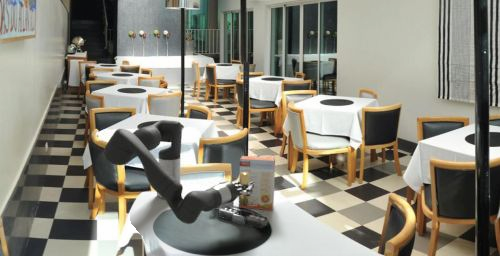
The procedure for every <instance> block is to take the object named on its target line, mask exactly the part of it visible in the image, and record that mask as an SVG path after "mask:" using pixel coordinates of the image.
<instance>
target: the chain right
mask: <svg viewBox="0 0 500 256" xmlns="http://www.w3.org/2000/svg"><path fill="white" fill-rule="evenodd" d="M245 225H248V226H250V227H252V228H253V227H254V228H257V229H260V230H262V229H263V228H265V227H267V226H268V225H269V217H268V216H265V215H262V214H258V213H251V215H249V217H248V216H246V218H245Z"/></svg>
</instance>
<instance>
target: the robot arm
mask: <svg viewBox="0 0 500 256" xmlns="http://www.w3.org/2000/svg"><path fill="white" fill-rule="evenodd" d="M182 134H183V128H182V124H181V122H180V121H179V120H169V119H167V120H165V119H163V120H162V119H160V120H158V121H156V122H155V123H153V124H151V125H146V126H142V127H141V128H138V129H136V130H135V131H134V132H132V131H130V130H128V129H126V128H125V129H124V128H118V129H116V130H115V131H114V133H112V135H111V137H110V139H109V140H108V142H107V143H106V145H105V147H104V149H103V157H104V159H105V160H106V161H107V162H109V163H110V164H112V165H115V166H125V165H126V164H129V162H131V161H132V160H134V159H135V158H138V159H139V161H140V163H141V165H142V168H143V170H144V174H145V177H146V179H147V182H148V183H149V185H150V187H151V188H152V189H153V190H154V191H155V192H156V196H158V197H159V198H160V199H164V200H165V201H166V204H167V205H168V207H170V210H171V211H172V213H173V214H174V215H175V217H176V218H177V219H178V220H179V221H180V222H182V223H184V224H187V225H192V224H193V223H195V222H196V221H197V219H199V216H200V215H201V214H202V212H206V213H207V212H212V211H213V210H217V209H216V208H218V207H222V206H224V205H226V204H229V203H231V202H233V201H234V202H235V200H236V199H237V198H238V197H239V195H242V194H246V196H250V195H251V193H252V188H253V187H254V182H250V183H247V184H240V181H239V180H236V181H234V180H228V181H222V182H219V184H216V185H213V186H212V187H210V188H208V189H204V190H192V191H190V192H188V193H187V194H185V196H184V198H183V195H182V193H183V191H184V190H183V189H184V188H183V184H182V183H181V154H182V153H181V152H182ZM161 143H170V146H169V147H167V148H166V147H165V148H163V149H161V150H159V152H158V160H157V159H156V157H155V156H154V155H153V154H152V151H153V150H155V149H156V148H157V147H159V146H160V144H161ZM150 151H151V152H150ZM245 187H246V189H245Z"/></svg>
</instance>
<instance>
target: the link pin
mask: <svg viewBox="0 0 500 256" xmlns="http://www.w3.org/2000/svg"><path fill="white" fill-rule="evenodd" d="M239 177H240V184H247V183H249V173H247V172H241V173H240V172H239ZM245 189H246V187H245ZM239 205H241V206H247V205H248V196H246V194H242V195H239V196H238V206H239Z"/></svg>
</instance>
